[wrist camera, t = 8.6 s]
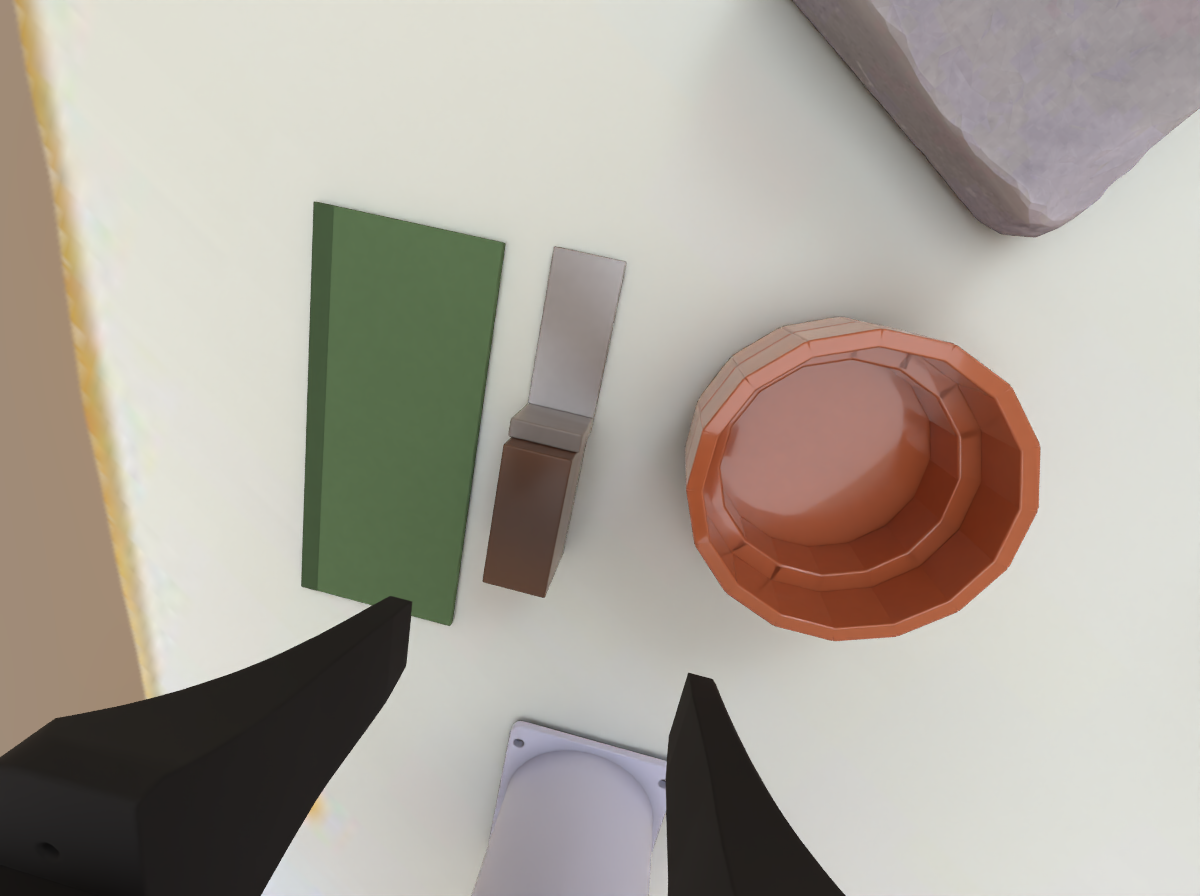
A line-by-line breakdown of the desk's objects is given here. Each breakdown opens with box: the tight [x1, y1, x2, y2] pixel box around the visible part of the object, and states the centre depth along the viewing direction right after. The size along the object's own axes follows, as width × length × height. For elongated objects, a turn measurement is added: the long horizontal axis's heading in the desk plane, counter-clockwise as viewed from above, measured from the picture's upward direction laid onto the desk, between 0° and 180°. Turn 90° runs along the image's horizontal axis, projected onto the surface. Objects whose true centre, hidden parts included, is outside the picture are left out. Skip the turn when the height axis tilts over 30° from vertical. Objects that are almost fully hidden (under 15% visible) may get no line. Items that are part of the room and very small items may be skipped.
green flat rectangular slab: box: [301, 202, 505, 626], centre depth 23 cm, size 17×7×1 cm, turn 168°
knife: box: [483, 246, 626, 598], centre depth 20 cm, size 12×3×3 cm, turn 168°
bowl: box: [685, 317, 1040, 641], centre depth 18 cm, size 10×10×5 cm
